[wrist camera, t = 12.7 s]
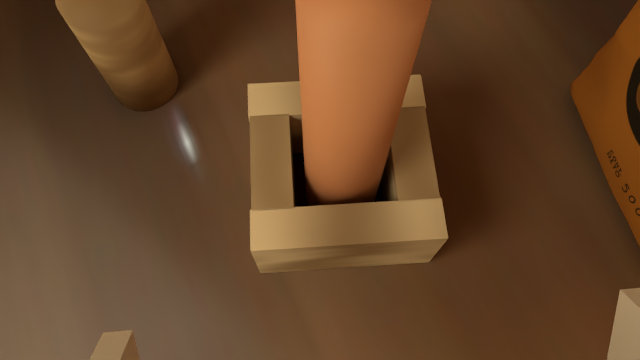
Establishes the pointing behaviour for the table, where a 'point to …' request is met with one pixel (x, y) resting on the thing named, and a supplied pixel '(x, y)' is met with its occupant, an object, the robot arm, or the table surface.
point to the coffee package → (616, 113)
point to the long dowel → (353, 90)
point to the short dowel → (124, 49)
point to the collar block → (341, 219)
